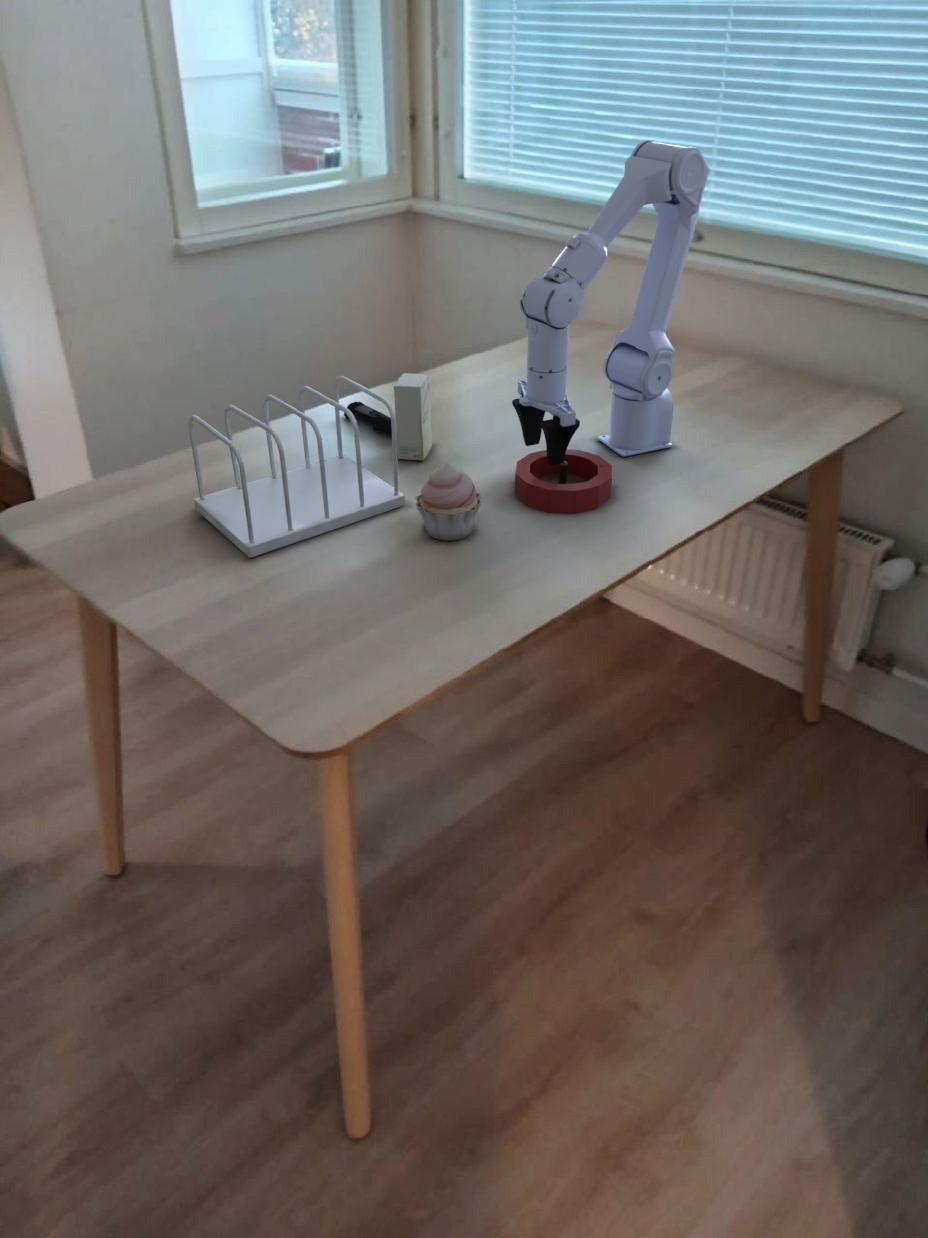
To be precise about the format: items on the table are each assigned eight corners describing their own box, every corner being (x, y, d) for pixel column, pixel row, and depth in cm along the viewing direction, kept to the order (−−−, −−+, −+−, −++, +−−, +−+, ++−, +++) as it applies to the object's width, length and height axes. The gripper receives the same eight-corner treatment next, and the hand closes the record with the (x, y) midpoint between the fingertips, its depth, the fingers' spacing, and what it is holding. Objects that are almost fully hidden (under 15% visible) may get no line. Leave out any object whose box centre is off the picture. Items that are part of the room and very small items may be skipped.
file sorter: (249, 560, 126) (232, 451, 117) (195, 511, 137) (175, 409, 129) (406, 505, 138) (401, 403, 129) (344, 465, 150) (335, 368, 141)
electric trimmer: (398, 446, 156) (397, 428, 154) (342, 418, 165) (340, 401, 163) (415, 440, 158) (415, 422, 156) (359, 412, 167) (358, 395, 165)
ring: (580, 463, 149) (581, 442, 147) (628, 501, 138) (630, 478, 136) (499, 480, 144) (500, 458, 142) (542, 520, 134) (543, 497, 132)
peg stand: (573, 475, 146) (574, 446, 143) (599, 496, 140) (602, 466, 137) (526, 485, 143) (527, 455, 140) (551, 507, 137) (552, 477, 134)
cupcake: (487, 516, 135) (487, 451, 129) (476, 549, 127) (476, 482, 122) (423, 512, 136) (420, 447, 131) (408, 544, 129) (405, 477, 123)
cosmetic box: (423, 461, 150) (421, 387, 143) (396, 459, 151) (392, 385, 144) (432, 445, 155) (430, 373, 149) (406, 443, 156) (403, 371, 149)
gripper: (500, 354, 141) (499, 440, 148) (545, 387, 130) (542, 477, 137) (542, 348, 143) (539, 432, 151) (590, 379, 132) (584, 468, 140)
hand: (543, 453), depth 144 cm, fingers open, 7 cm apart
